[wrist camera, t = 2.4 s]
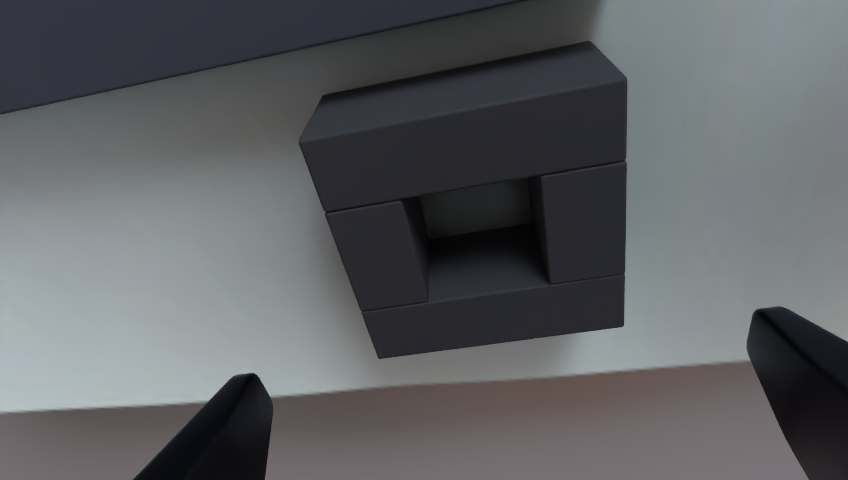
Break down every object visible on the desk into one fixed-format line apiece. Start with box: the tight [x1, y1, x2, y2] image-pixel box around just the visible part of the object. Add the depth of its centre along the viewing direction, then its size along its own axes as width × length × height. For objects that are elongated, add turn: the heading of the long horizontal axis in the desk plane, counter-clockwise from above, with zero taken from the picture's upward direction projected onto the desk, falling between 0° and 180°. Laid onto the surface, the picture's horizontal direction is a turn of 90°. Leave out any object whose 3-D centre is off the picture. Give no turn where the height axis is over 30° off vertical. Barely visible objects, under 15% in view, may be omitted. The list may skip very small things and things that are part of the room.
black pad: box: [299, 41, 627, 359], centre depth 14 cm, size 7×7×3 cm
